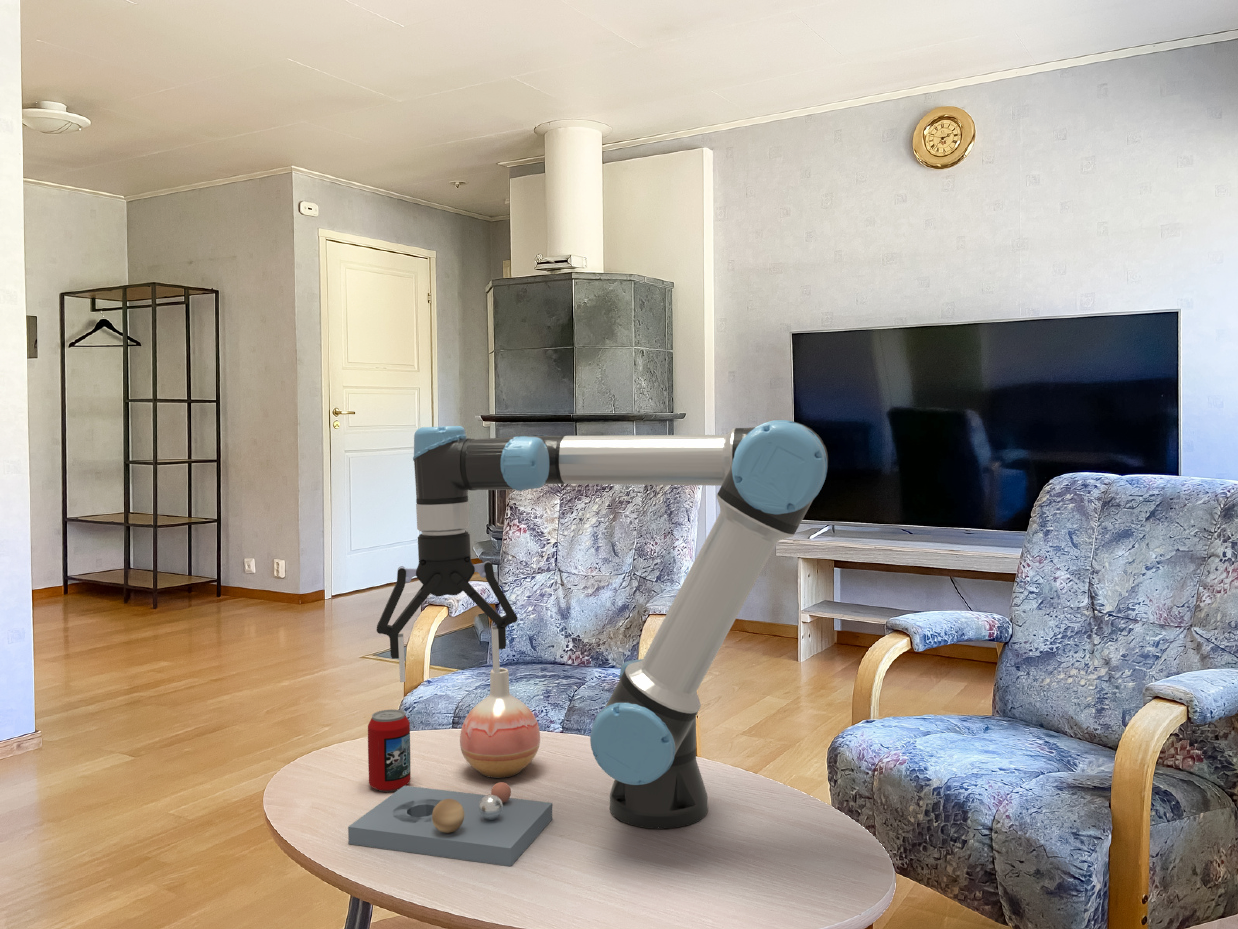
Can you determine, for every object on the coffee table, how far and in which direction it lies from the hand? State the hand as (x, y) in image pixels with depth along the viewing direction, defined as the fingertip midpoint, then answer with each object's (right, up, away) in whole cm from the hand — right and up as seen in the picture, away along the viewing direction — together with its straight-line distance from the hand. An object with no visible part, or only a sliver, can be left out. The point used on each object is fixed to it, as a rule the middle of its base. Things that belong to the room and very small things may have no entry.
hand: (450, 675), depth 142 cm
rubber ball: (+7, -19, +4) cm, 20 cm away
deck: (0, -23, 0) cm, 23 cm away
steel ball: (+6, -19, -2) cm, 20 cm away
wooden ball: (+1, -18, -6) cm, 19 cm away
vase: (+5, -22, +24) cm, 32 cm away
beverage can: (-13, -22, +17) cm, 31 cm away
